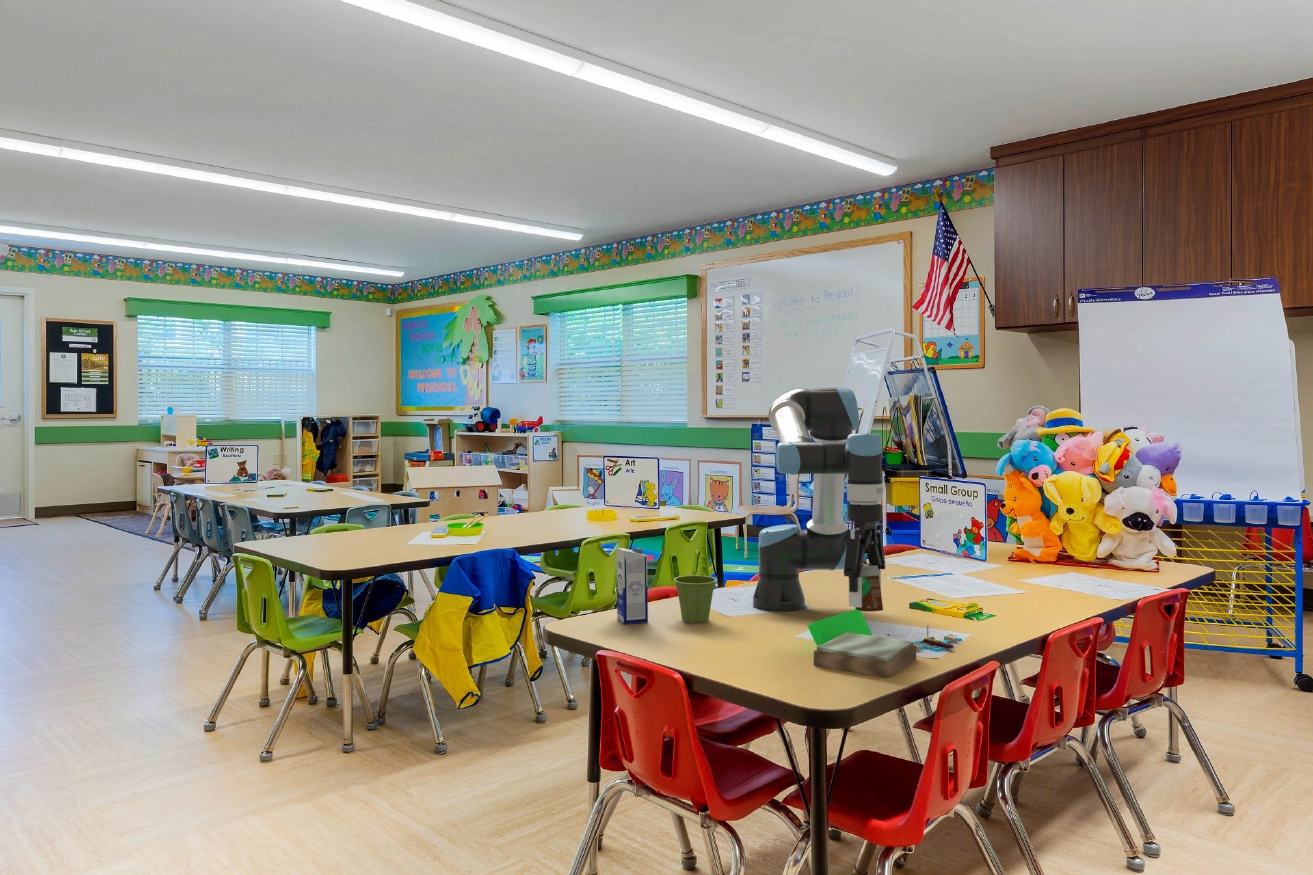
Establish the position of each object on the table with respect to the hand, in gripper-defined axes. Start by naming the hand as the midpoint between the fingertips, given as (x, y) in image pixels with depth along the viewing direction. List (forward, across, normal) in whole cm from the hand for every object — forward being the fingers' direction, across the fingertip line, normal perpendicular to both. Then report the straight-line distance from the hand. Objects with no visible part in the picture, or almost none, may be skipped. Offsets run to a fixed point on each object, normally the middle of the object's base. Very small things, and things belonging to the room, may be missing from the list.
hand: (865, 602), depth 191 cm
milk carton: (+14, +3, +68) cm, 69 cm away
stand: (+13, 0, 0) cm, 13 cm away
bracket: (+14, +12, +14) cm, 23 cm away
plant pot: (+14, +13, +54) cm, 57 cm away
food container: (+1, 0, 0) cm, 1 cm away
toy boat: (+14, +22, -8) cm, 27 cm away
